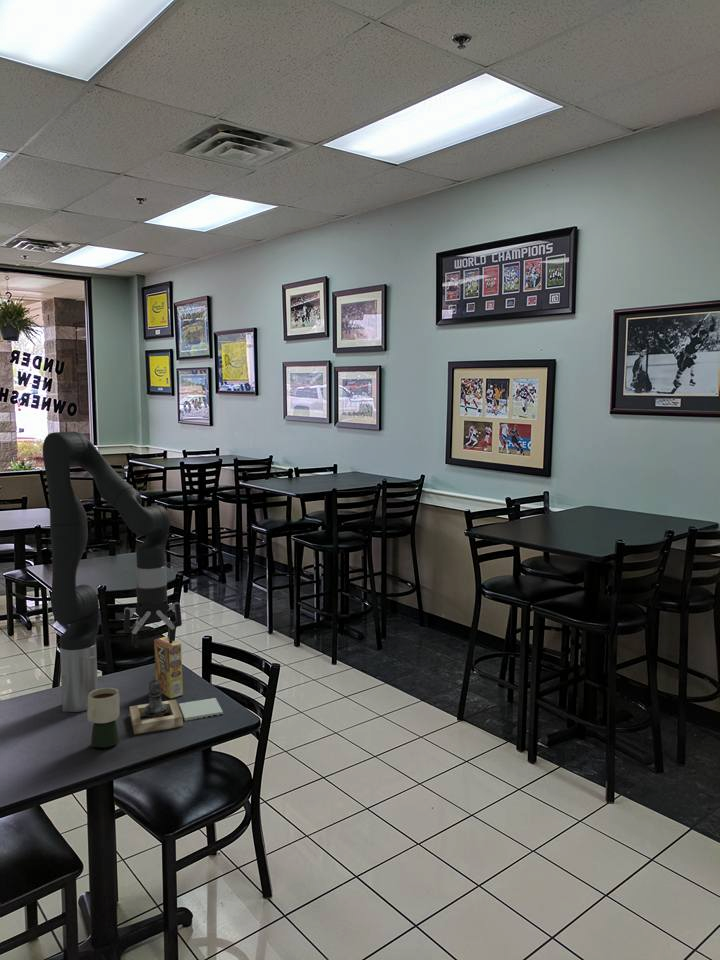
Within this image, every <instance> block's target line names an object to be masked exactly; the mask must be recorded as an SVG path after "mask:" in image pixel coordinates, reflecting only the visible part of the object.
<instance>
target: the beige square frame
mask: <svg viewBox="0 0 720 960" xmlns="http://www.w3.org/2000/svg"><path fill="white" fill-rule="evenodd" d="M161 701H162V703H163V704H166V705H167V709H166V712H165V714H167V713H169V715H166V716H165V715H164V716H163V717H159V718H152V719H148V718H146V719H141V718H142V717H147V716H146V713H145V711H144V708H145V707H146V706H147V705H149V703H144V704H137V705H131V706H129V717H130V718H129V719H130V722H131V728H132V730H133V731H132V732H133V734H134V735H138V734H143V733H144V734H145V733H150V732H156V731H161V730H162V731H163V730H169V729H173V728H181V727H183V726H184V724H183V723H184V722H183V720H184V717H183V715H182V712H181V710H180V707H179V703H178V702H177V699H175V698H174V699H170V700H165V701H163V700H161Z"/></svg>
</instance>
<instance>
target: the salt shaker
mask: <svg viewBox="0 0 720 960" xmlns="http://www.w3.org/2000/svg"><path fill="white" fill-rule="evenodd" d="M148 685H149V686H148V687H149V688H148V689H149V692H148V694H147V696H149V699H148V704H149V705H147V706H146V707H145V708H144V711H145V713H146V716H145V717H147V719H152V718H159V717H164V716H165V714H166V713H165V712H166V709H167V705H166V704H163V703H162V701H163V700H162V695H163V694H162V692H161V683H160V681H159V680H157V679H156V676H153V679H152V680H150V681H149V682H148Z"/></svg>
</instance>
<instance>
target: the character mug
mask: <svg viewBox="0 0 720 960" xmlns="http://www.w3.org/2000/svg"><path fill="white" fill-rule="evenodd" d="M119 692H120V691H119V690H118V688H114V687H102V688H101V687H100V688H98V689H96V690H93V691H91V692H90V693H89V694H88V710H86V712H87V721H88V722H89V723H90V722H91V723H93V725H92V729H91V730H92V731H91V740H90V741H91V743H90V744H91V746H92V747H93V748H109V747H112V746H115V745H117V744H118V743H119V741H120V739H119V733H118V731H119V730H118V727H117V726H118V725H117V722H116V720H118V718H119V717H120V693H119Z"/></svg>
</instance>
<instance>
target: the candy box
mask: <svg viewBox="0 0 720 960" xmlns="http://www.w3.org/2000/svg"><path fill="white" fill-rule="evenodd" d="M153 644H154V646H153V647H154V667H155V677H156V679H157V680H159V681H160V683H161V692H162V695H164V696H166V697H168V698H169V699H175V698H177V697H180V696H183V695H184V691H183V690H184V689H183V688H184V687H183V685H184V684H183V664H182V663H183V662H182V661H183V660H182V657H183V656H182V643H181V642H178V641H176V640H174V641H172V643H169V636H163V637H160V638H156V639H154V643H153Z"/></svg>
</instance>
